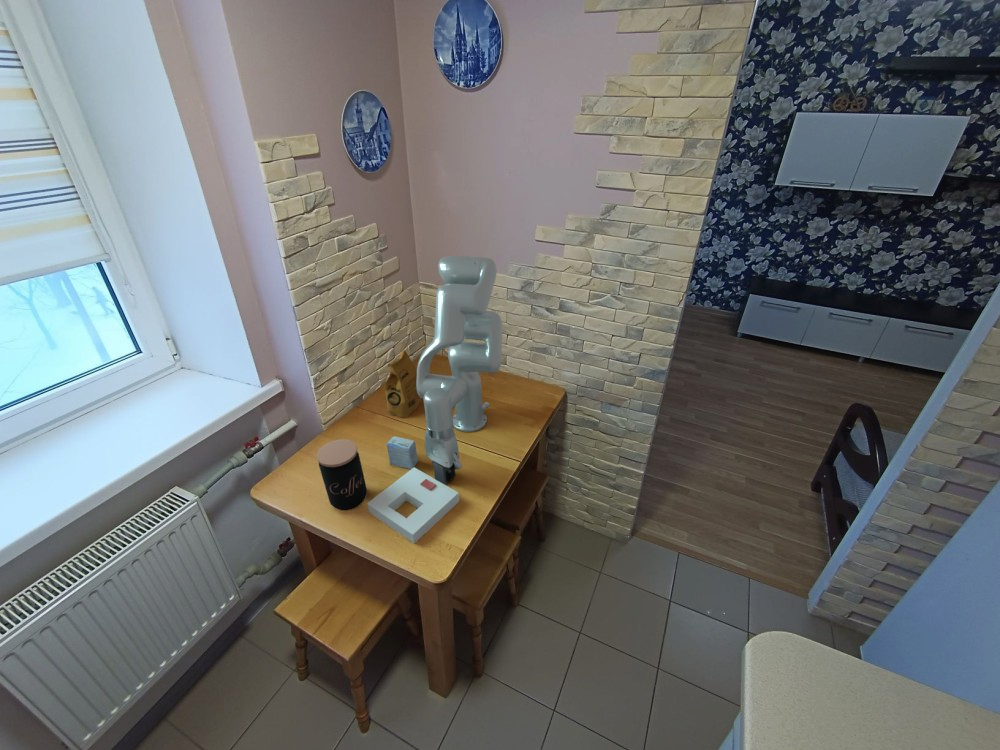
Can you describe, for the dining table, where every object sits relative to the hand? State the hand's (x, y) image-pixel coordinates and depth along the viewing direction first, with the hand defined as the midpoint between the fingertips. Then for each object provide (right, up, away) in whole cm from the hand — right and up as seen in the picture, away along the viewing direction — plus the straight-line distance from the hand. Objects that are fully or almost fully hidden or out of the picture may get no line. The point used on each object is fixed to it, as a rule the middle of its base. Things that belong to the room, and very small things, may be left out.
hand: (445, 475), depth 140 cm
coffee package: (-19, +18, +32) cm, 41 cm away
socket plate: (-8, -7, -10) cm, 14 cm away
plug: (0, -1, 0) cm, 1 cm away
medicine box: (-14, +2, +6) cm, 15 cm away
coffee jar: (-27, -5, -6) cm, 29 cm away
